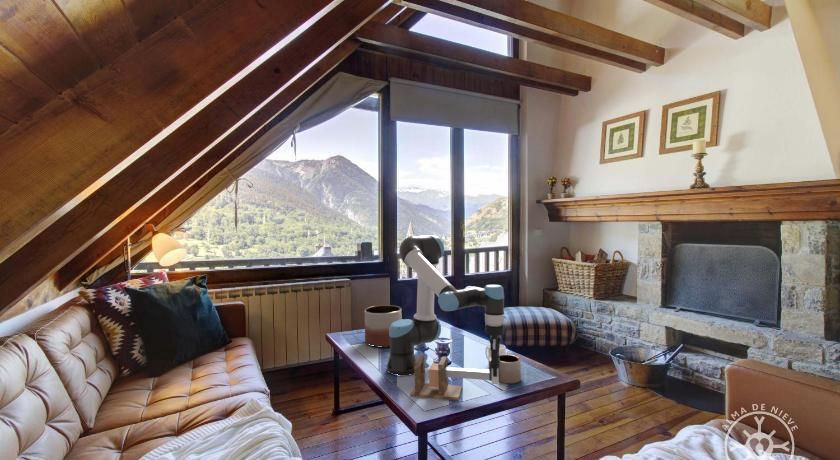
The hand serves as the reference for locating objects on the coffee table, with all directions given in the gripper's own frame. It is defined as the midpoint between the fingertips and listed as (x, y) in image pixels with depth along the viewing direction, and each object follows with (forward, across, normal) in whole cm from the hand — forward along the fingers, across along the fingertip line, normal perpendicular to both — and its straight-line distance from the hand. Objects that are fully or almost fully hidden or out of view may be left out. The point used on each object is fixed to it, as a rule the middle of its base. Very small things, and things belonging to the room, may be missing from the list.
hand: (495, 381), depth 159 cm
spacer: (+3, 0, +25) cm, 25 cm away
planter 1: (+7, +60, +69) cm, 91 cm away
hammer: (-1, 0, +10) cm, 10 cm away
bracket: (+7, 0, +24) cm, 25 cm away
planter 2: (+7, +19, -4) cm, 21 cm away
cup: (+7, +34, +3) cm, 35 cm away
